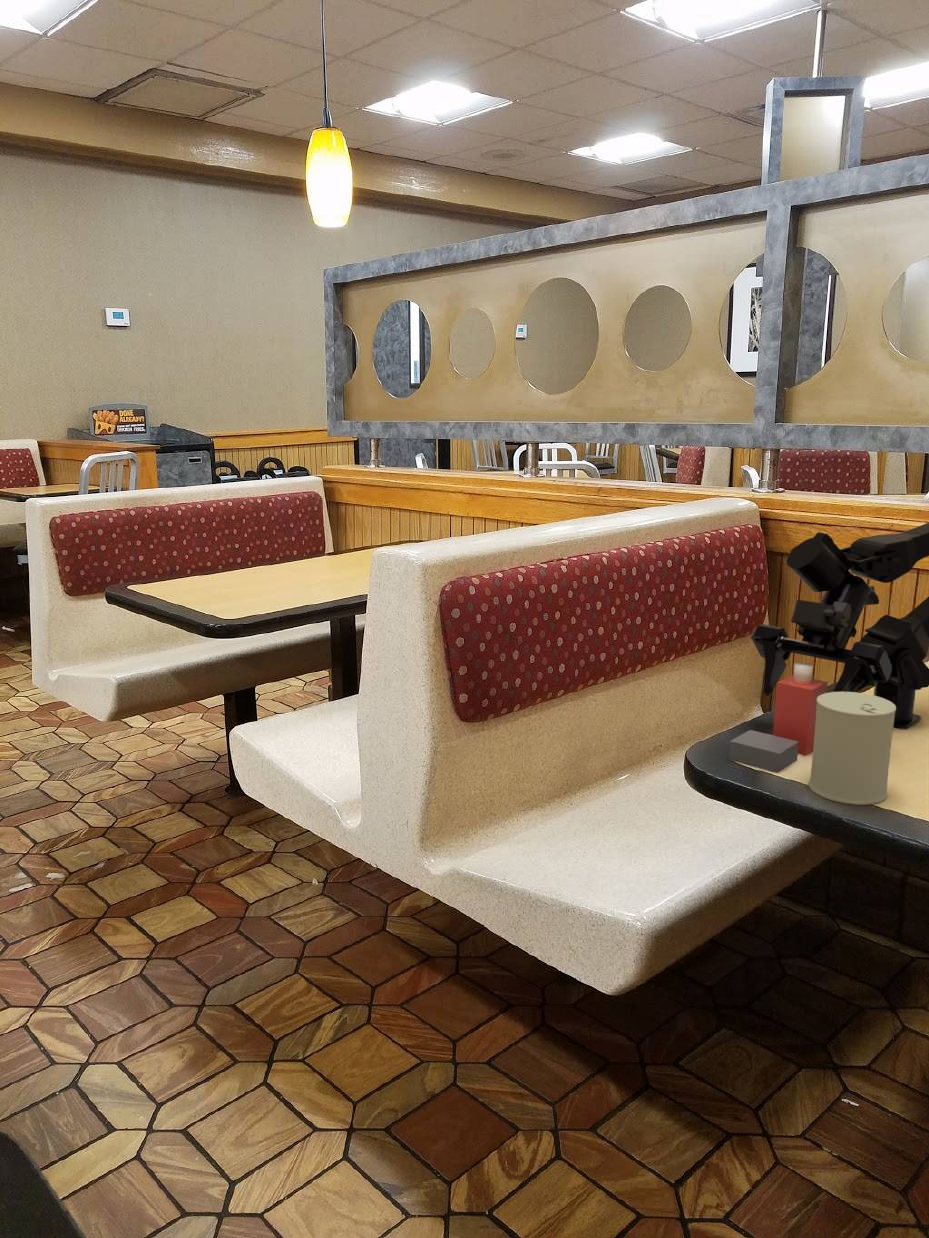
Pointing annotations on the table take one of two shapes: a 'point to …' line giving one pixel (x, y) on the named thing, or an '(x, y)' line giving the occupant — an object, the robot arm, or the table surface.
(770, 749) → the grey box
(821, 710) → the can
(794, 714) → the ketchup bottle
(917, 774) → the table surface
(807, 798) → the table surface
